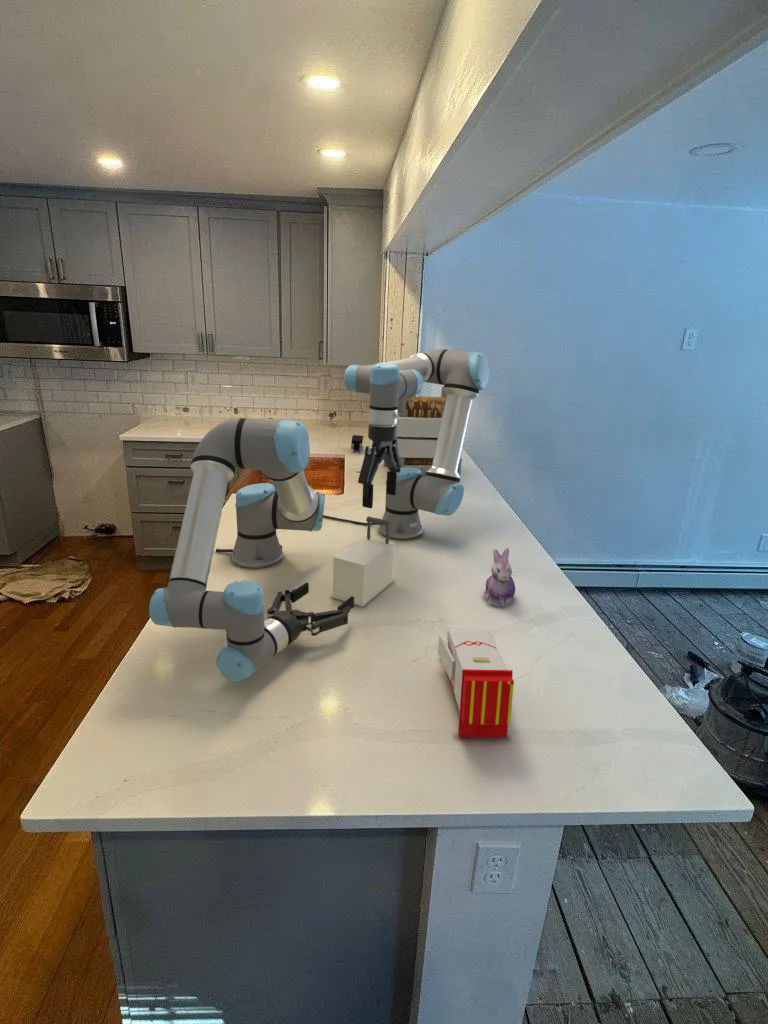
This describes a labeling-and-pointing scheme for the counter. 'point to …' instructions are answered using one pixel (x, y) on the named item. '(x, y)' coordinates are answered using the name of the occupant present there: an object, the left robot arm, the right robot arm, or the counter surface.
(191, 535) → the left robot arm
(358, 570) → the chest
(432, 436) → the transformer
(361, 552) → the lid
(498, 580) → the figurine
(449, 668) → the toy
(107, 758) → the counter surface
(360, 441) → the figurine character
